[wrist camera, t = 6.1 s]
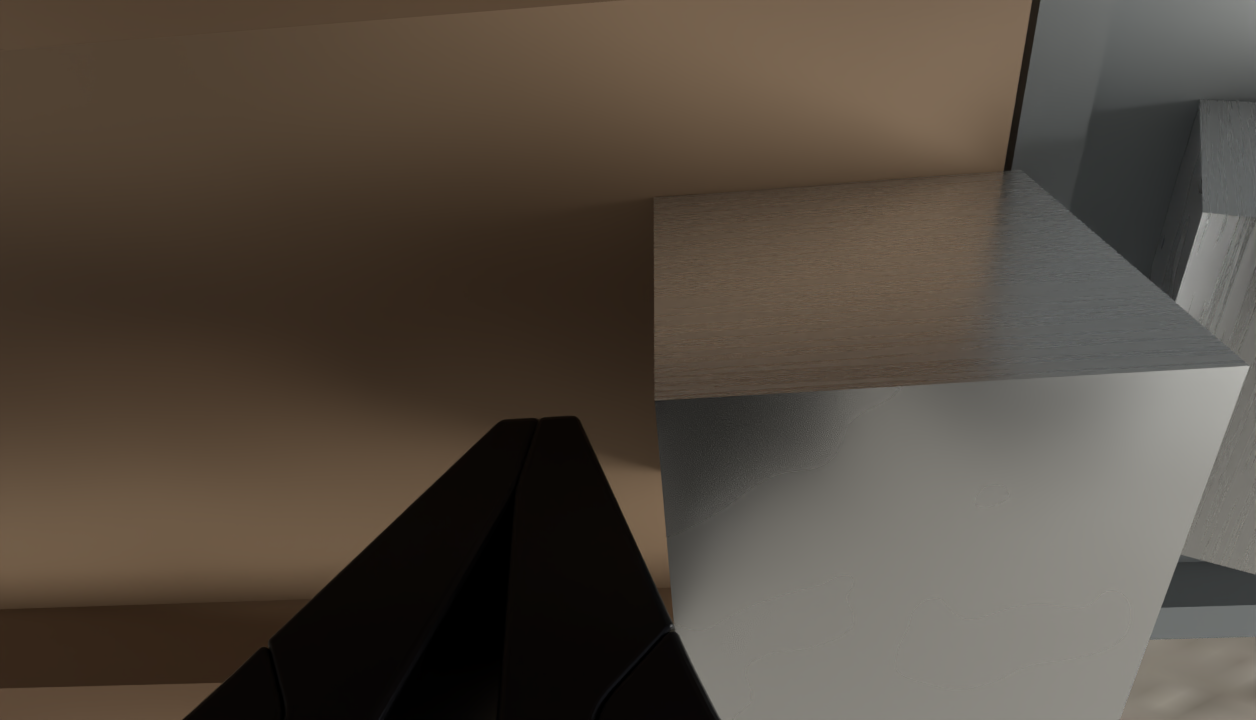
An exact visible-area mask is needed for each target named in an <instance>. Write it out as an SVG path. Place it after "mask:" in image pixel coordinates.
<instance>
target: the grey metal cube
mask: <svg viewBox="0 0 1256 720" xmlns="http://www.w3.org/2000/svg"><path fill="white" fill-rule="evenodd" d="M1148 279H1149V280H1150V281H1151V282H1153V283H1154V284H1155V285H1156V286H1157V287H1158V288H1160V289H1161V290H1162V291H1163V292H1164V293H1165V294H1167V295H1168V296H1169V297H1170V298H1171V299H1172V300H1174V301H1175V302H1176V303H1177V304H1178V305H1179V306H1181V307H1182V308H1183V309H1184V310H1185V311H1186V312H1188V313H1189V314H1190V315H1191V316H1192V317H1193V318H1195V319H1196V320H1197V321H1198V322H1199V323H1200V324H1202V325H1203V326H1204V327H1205V328H1206V329H1207V330H1209V331H1210V332H1211V333H1212V334H1213V335H1214V336H1216V337H1217V338H1218V339H1219V340H1220V341H1221V342H1223V343H1224V344H1225V345H1226V346H1227V347H1228V348H1230V349H1231V350H1232V351H1233V352H1234V353H1235V354H1237V355H1238V356H1239V357H1240V358H1241V359H1242V360H1244V361H1245V362H1246V363H1247V364H1248V365H1249V369H1248V372H1247V375H1246V377H1245V380H1244V383H1243V385H1242V388H1241V391H1240V394H1239V396H1238V399H1237V402H1236V405H1235V407H1234V410H1233V413H1232V415H1231V418H1230V421H1229V424H1228V426H1227V429H1226V432H1225V435H1224V437H1223V440H1222V443H1221V445H1220V448H1219V451H1218V454H1217V456H1216V459H1215V462H1214V464H1213V467H1212V470H1211V473H1210V475H1209V478H1208V481H1207V484H1206V486H1205V489H1204V492H1203V494H1202V497H1201V500H1200V503H1199V505H1198V508H1197V511H1196V514H1195V516H1194V519H1193V522H1192V524H1191V527H1190V530H1189V533H1188V535H1187V538H1186V541H1185V544H1184V546H1183V549H1182V552H1181V555H1184V556H1188V557H1192V558H1196V559H1199V560H1203V561H1207V562H1211V563H1214V564H1218V565H1222V566H1226V567H1229V568H1233V569H1237V570H1241V571H1244V572H1248V573H1252V574H1256V102H1241V101H1220V100H1200V99H1199V103H1198V106H1197V110H1196V113H1195V117H1194V120H1193V124H1192V127H1191V131H1190V135H1189V138H1188V142H1187V145H1186V149H1185V152H1184V156H1183V159H1182V163H1181V166H1180V170H1179V173H1178V177H1177V180H1176V184H1175V187H1174V191H1173V194H1172V198H1171V201H1170V205H1169V208H1168V212H1167V215H1166V219H1165V222H1164V226H1163V229H1162V233H1161V236H1160V240H1159V243H1158V247H1157V250H1156V254H1155V257H1154V261H1153V264H1152V268H1151V271H1150V275H1149V278H1148Z"/></svg>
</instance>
